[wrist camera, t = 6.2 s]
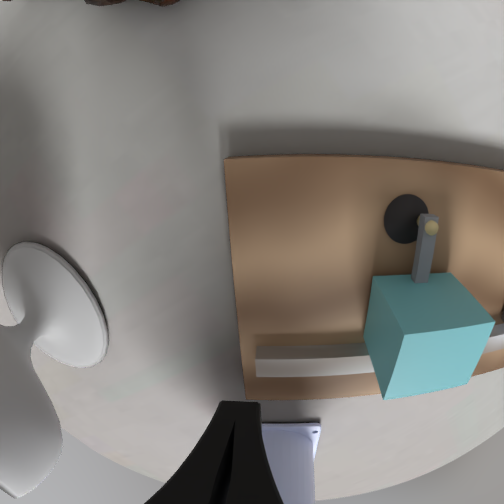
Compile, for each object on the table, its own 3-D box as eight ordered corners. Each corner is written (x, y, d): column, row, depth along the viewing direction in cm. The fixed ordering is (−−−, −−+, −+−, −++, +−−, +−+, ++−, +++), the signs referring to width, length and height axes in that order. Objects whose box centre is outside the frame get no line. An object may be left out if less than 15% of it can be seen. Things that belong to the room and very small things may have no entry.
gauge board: (506, 354, 19) (519, 372, 16) (247, 384, 21) (244, 412, 18) (555, 181, 12) (578, 190, 10) (228, 156, 15) (218, 162, 12)
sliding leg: (435, 329, 16) (467, 383, 11) (363, 336, 16) (383, 400, 12) (461, 212, 13) (517, 248, 8) (379, 210, 13) (422, 250, 9)
